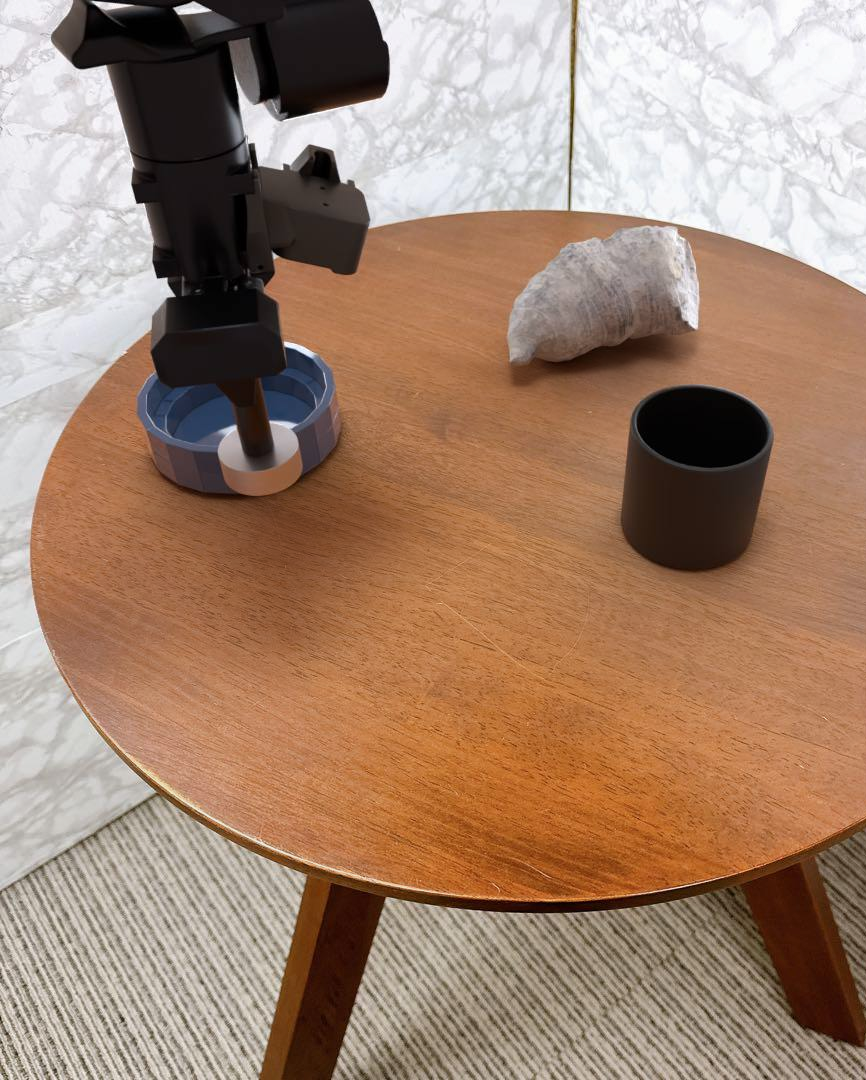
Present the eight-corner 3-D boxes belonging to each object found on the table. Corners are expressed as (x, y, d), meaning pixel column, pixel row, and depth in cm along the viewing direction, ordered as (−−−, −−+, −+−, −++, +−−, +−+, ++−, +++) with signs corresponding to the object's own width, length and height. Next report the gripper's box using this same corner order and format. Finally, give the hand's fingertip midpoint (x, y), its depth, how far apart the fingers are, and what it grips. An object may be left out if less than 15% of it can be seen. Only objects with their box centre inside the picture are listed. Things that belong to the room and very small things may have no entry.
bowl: (151, 513, 73) (134, 465, 70) (152, 397, 83) (138, 350, 80) (352, 482, 76) (345, 435, 73) (330, 374, 86) (323, 328, 83)
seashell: (502, 387, 85) (501, 279, 78) (523, 296, 95) (524, 194, 89) (696, 402, 84) (712, 294, 77) (695, 308, 94) (710, 206, 88)
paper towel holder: (224, 501, 64) (184, 352, 56) (223, 451, 67) (185, 305, 60) (305, 489, 65) (277, 341, 57) (299, 441, 68) (272, 296, 61)
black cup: (804, 522, 74) (832, 422, 67) (680, 592, 68) (697, 490, 62) (715, 454, 79) (732, 356, 73) (593, 514, 74) (601, 413, 68)
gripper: (371, 208, 46) (399, 473, 57) (332, 62, 59) (361, 300, 70) (112, 232, 44) (192, 502, 55) (131, 76, 57) (192, 319, 68)
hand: (245, 394), depth 62 cm, fingers closed on paper towel holder
